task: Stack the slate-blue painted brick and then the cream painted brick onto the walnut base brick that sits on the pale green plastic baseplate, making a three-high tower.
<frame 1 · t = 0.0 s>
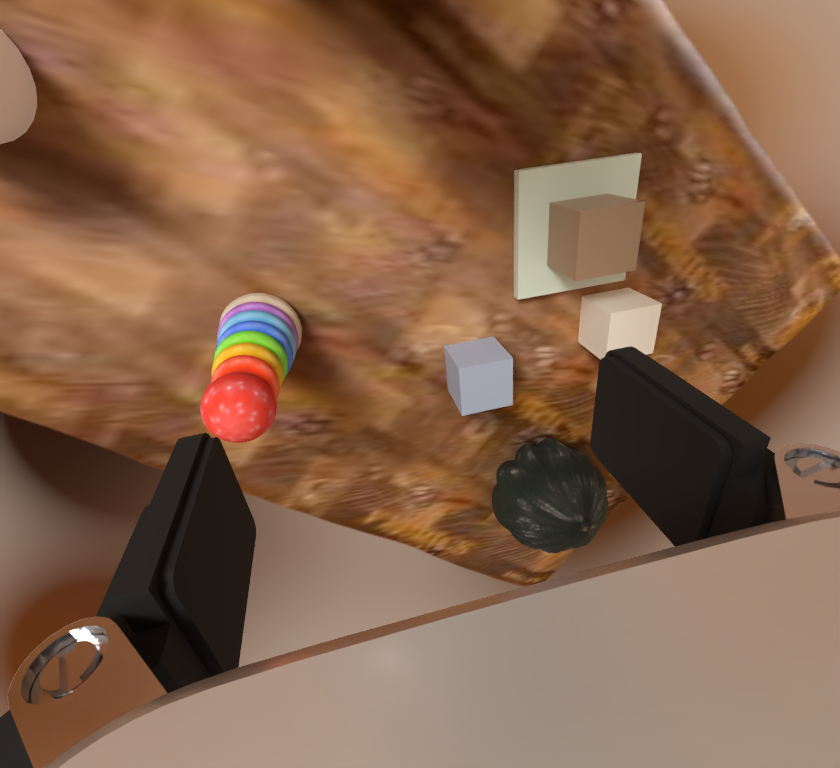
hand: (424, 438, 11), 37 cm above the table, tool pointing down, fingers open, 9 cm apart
cream brick: (602, 315, 54), on the table
stacking toy: (262, 327, 46), on the table
squash: (528, 467, 64), on the table
slate brick: (470, 363, 54), on the table
baseplate: (571, 228, 48), on the table
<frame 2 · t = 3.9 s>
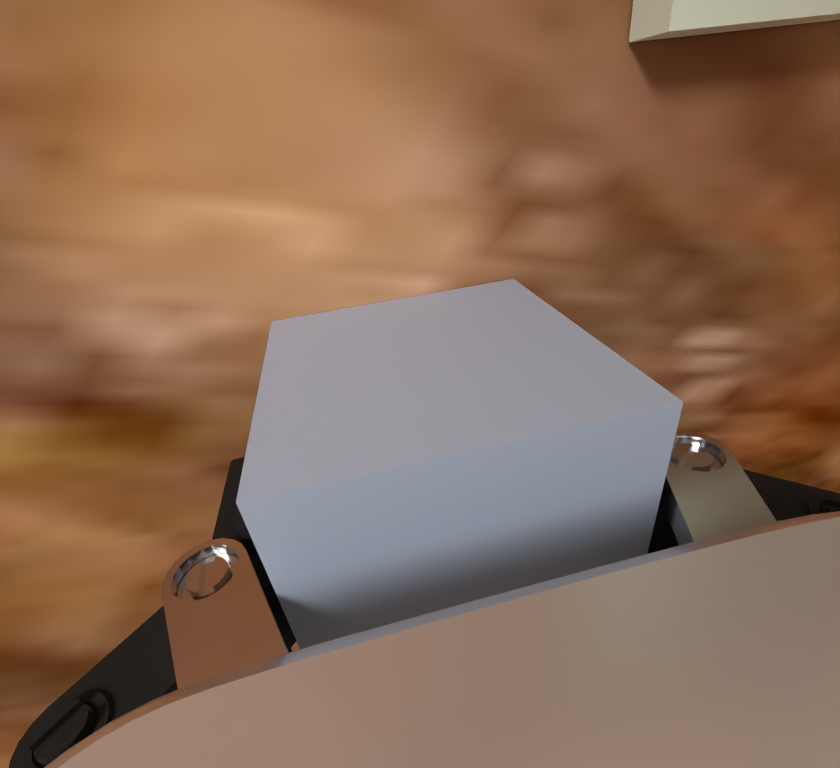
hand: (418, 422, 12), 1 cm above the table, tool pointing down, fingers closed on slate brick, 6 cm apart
slate brick: (411, 401, 12), on the table, touching gripper
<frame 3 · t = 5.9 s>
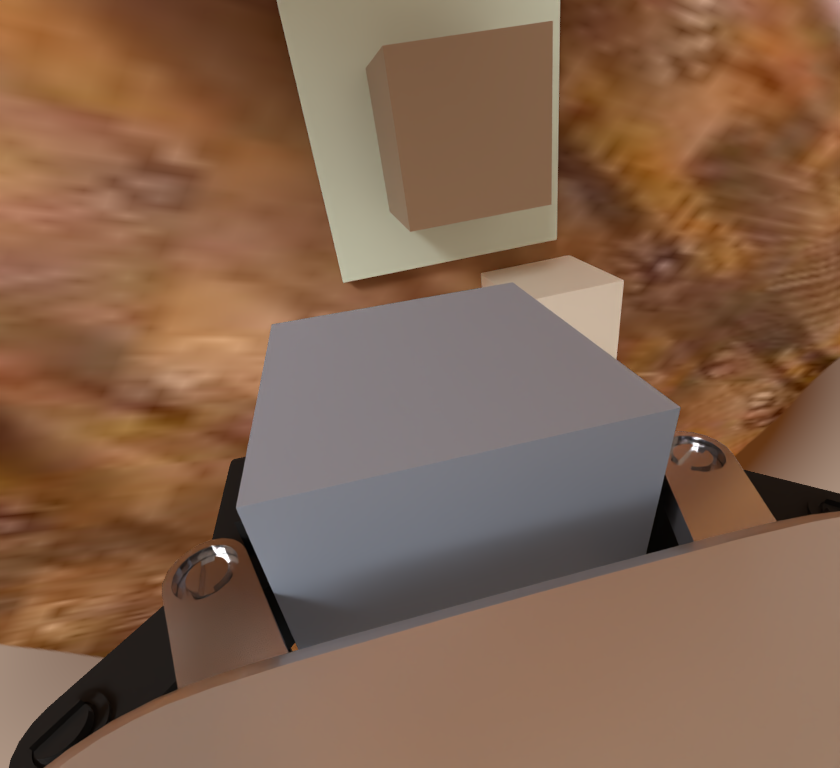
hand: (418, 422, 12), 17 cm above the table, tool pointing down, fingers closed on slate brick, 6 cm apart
cream brick: (525, 307, 30), on the table
slate brick: (410, 404, 12), point 16 cm above the table, touching gripper
baseplate: (434, 134, 24), on the table
when the fingers open (9 cm above the table, at t = 8.4 s): slate brick stays where it is, resting on baseplate.
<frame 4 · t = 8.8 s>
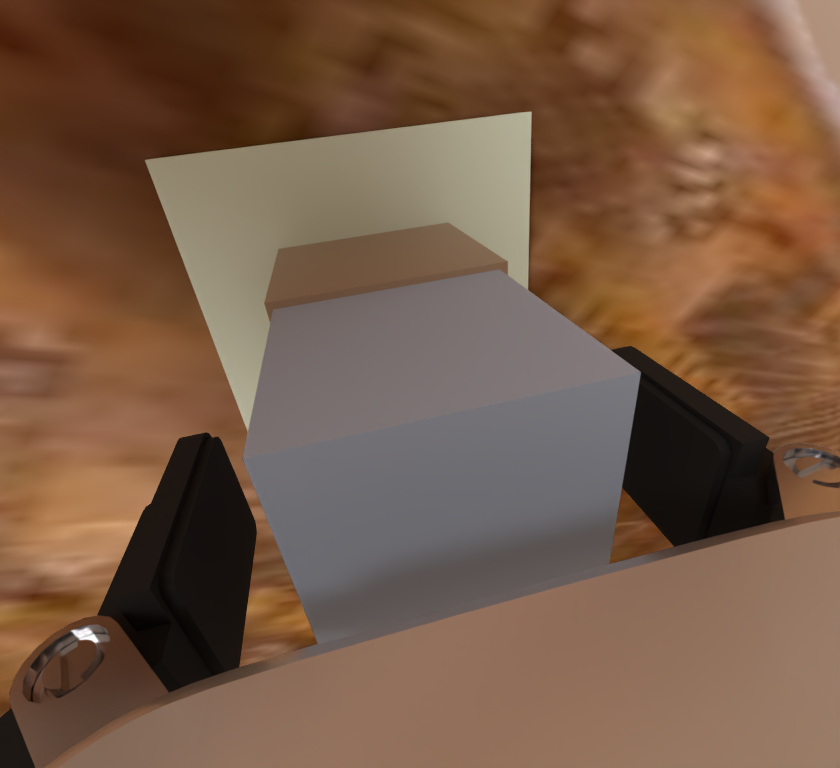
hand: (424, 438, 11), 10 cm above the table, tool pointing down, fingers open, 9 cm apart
slate brick: (404, 386, 13), point 7 cm above the table, touching baseplate
baseplate: (375, 305, 19), on the table
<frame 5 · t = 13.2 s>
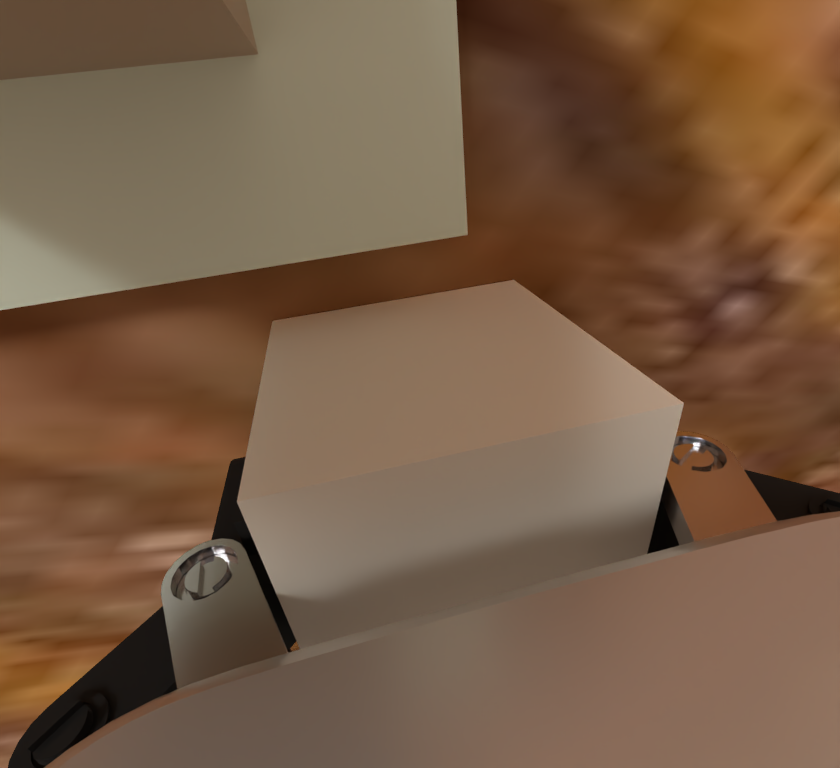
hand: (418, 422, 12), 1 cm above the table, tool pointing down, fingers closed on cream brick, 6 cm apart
cream brick: (411, 402, 12), on the table, touching gripper
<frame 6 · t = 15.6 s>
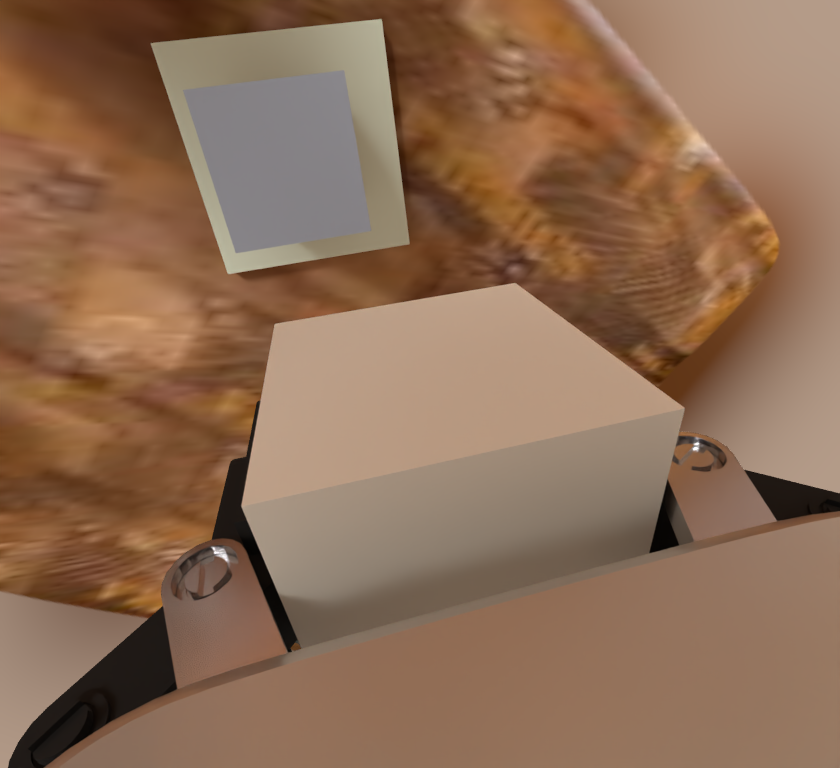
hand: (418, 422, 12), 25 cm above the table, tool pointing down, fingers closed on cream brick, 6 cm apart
cream brick: (412, 404, 12), point 24 cm above the table, touching gripper
slate brick: (293, 161, 23), point 7 cm above the table, touching baseplate
baseplate: (298, 157, 30), on the table
when the fingers open (15 cm above the table, at t = 18.4 s): cream brick stays where it is, resting on slate brick.
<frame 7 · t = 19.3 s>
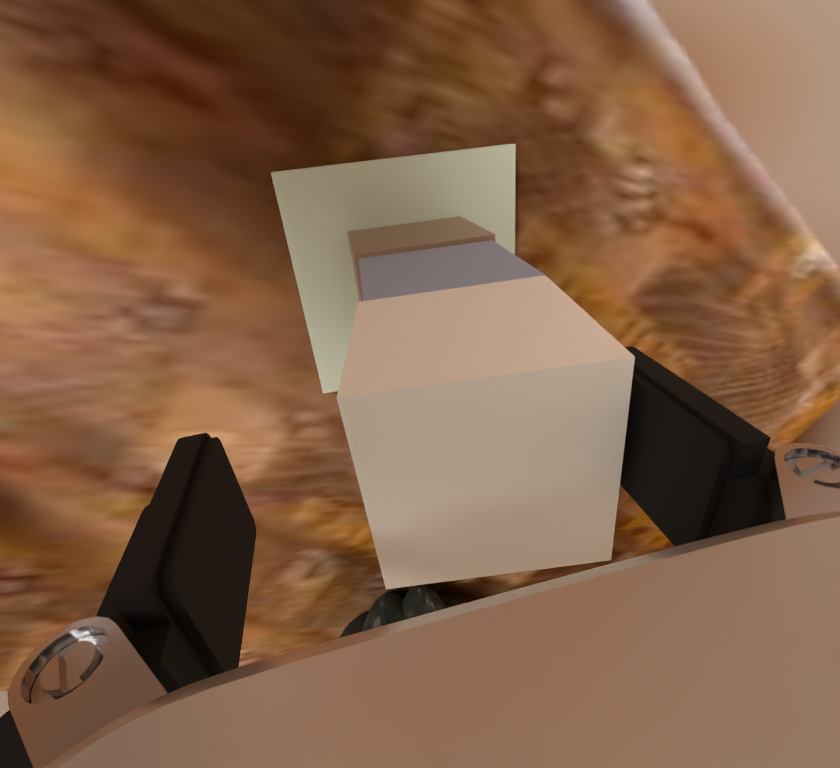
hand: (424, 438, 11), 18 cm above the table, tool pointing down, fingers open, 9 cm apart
cream brick: (459, 371, 16), point 14 cm above the table, tilted 8°, touching gripper, slate brick
squash: (404, 615, 43), on the table
slate brick: (432, 313, 21), point 7 cm above the table, touching baseplate, cream brick
baseplate: (407, 274, 27), on the table
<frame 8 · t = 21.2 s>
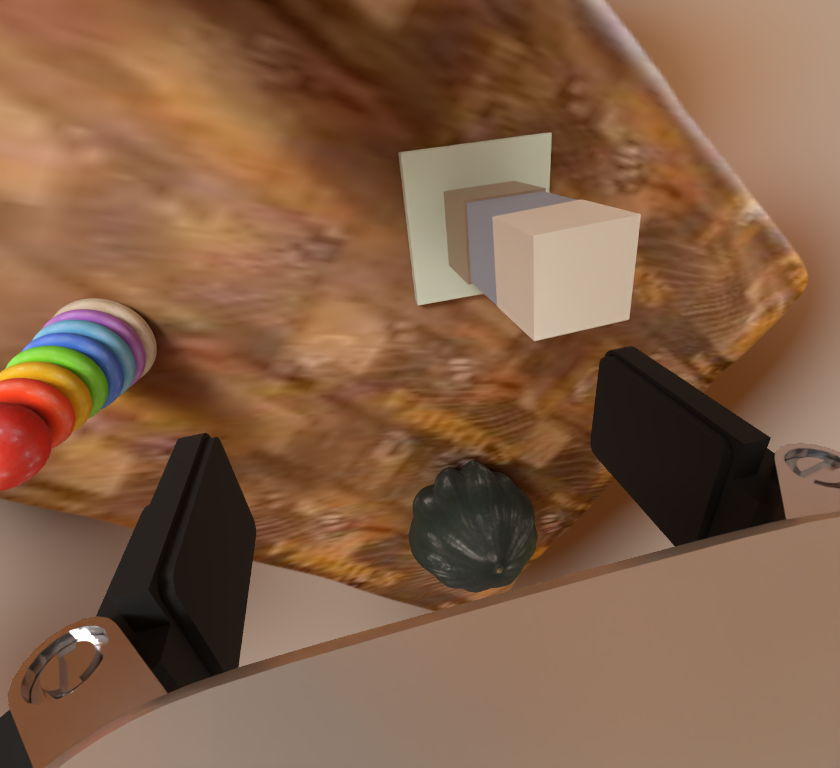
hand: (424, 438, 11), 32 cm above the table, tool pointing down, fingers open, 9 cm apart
cream brick: (537, 255, 30), point 13 cm above the table, touching slate brick
stacking toy: (109, 338, 39), on the table
squash: (456, 491, 57), on the table
slate brick: (505, 237, 35), point 7 cm above the table, touching baseplate, cream brick
baseplate: (476, 222, 41), on the table
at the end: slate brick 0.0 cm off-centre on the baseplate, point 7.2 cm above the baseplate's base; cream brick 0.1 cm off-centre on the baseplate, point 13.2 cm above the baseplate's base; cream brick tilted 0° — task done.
